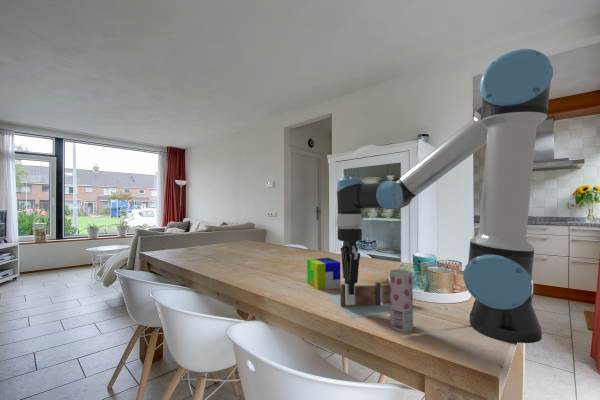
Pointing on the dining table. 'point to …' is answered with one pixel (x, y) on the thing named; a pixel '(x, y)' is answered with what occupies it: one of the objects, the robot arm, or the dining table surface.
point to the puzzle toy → (323, 273)
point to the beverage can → (401, 300)
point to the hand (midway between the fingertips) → (350, 304)
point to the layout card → (362, 308)
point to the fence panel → (363, 295)
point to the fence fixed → (385, 293)
